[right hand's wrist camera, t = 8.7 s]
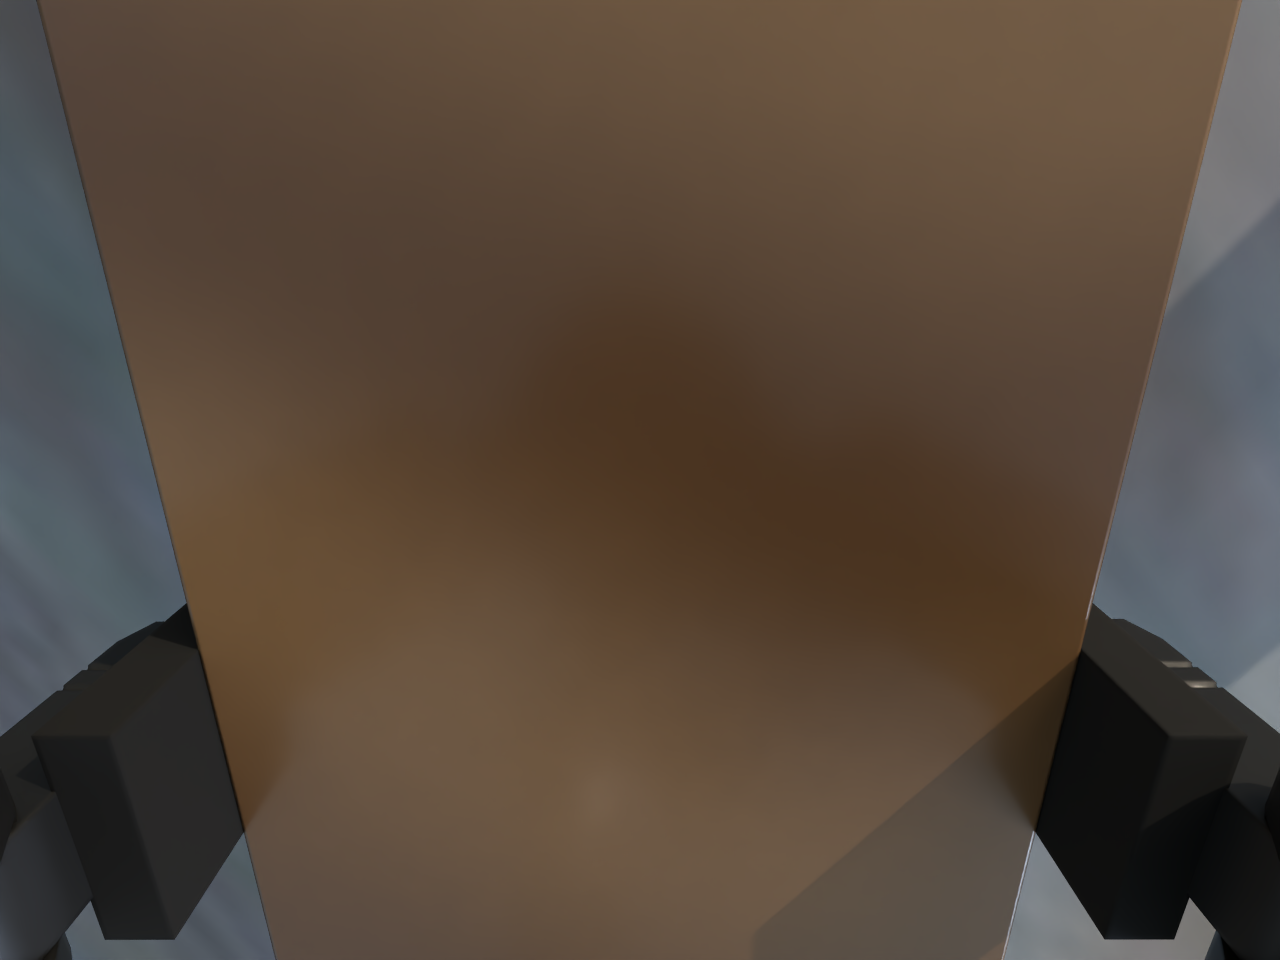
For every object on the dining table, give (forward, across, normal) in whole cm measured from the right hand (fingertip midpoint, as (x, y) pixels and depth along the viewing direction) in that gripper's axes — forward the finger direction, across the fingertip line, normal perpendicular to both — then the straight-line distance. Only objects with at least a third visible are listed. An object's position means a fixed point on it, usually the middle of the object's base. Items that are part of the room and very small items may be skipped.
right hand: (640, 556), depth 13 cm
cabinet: (+4, 0, -5) cm, 6 cm away
